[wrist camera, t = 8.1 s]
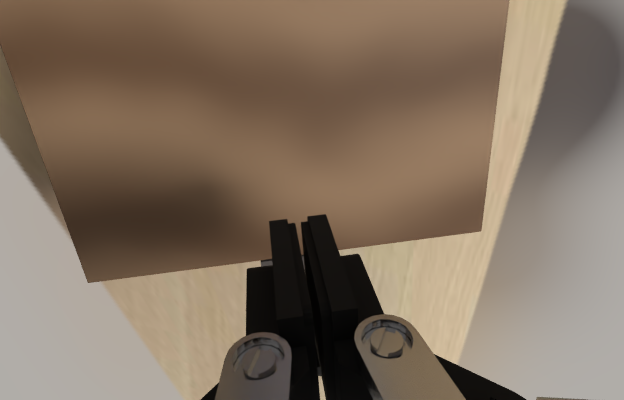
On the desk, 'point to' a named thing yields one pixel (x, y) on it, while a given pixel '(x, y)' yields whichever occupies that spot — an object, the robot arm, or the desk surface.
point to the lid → (256, 121)
